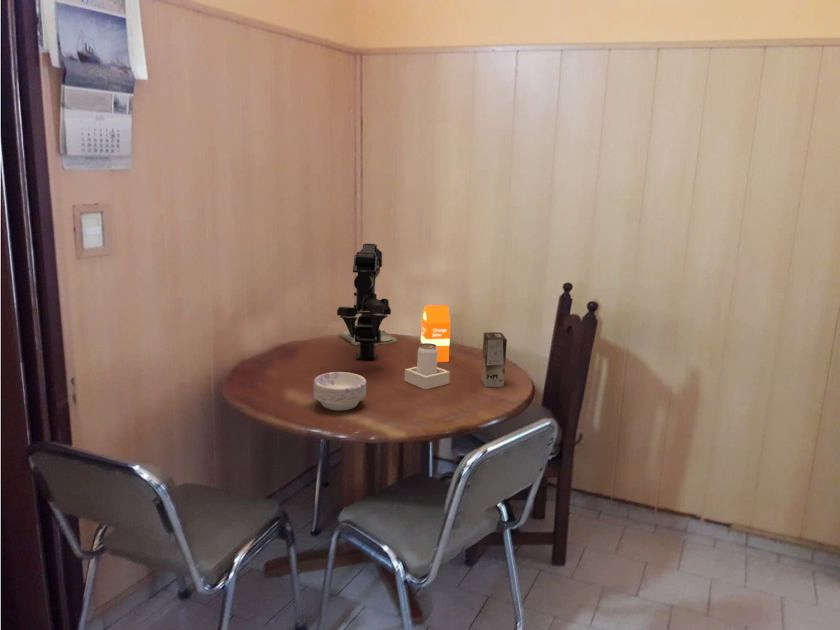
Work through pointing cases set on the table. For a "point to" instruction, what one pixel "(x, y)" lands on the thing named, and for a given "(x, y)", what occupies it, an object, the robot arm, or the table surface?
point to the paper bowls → (339, 390)
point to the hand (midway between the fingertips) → (363, 336)
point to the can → (427, 359)
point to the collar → (427, 378)
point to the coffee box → (493, 359)
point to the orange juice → (437, 329)
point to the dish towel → (385, 337)
